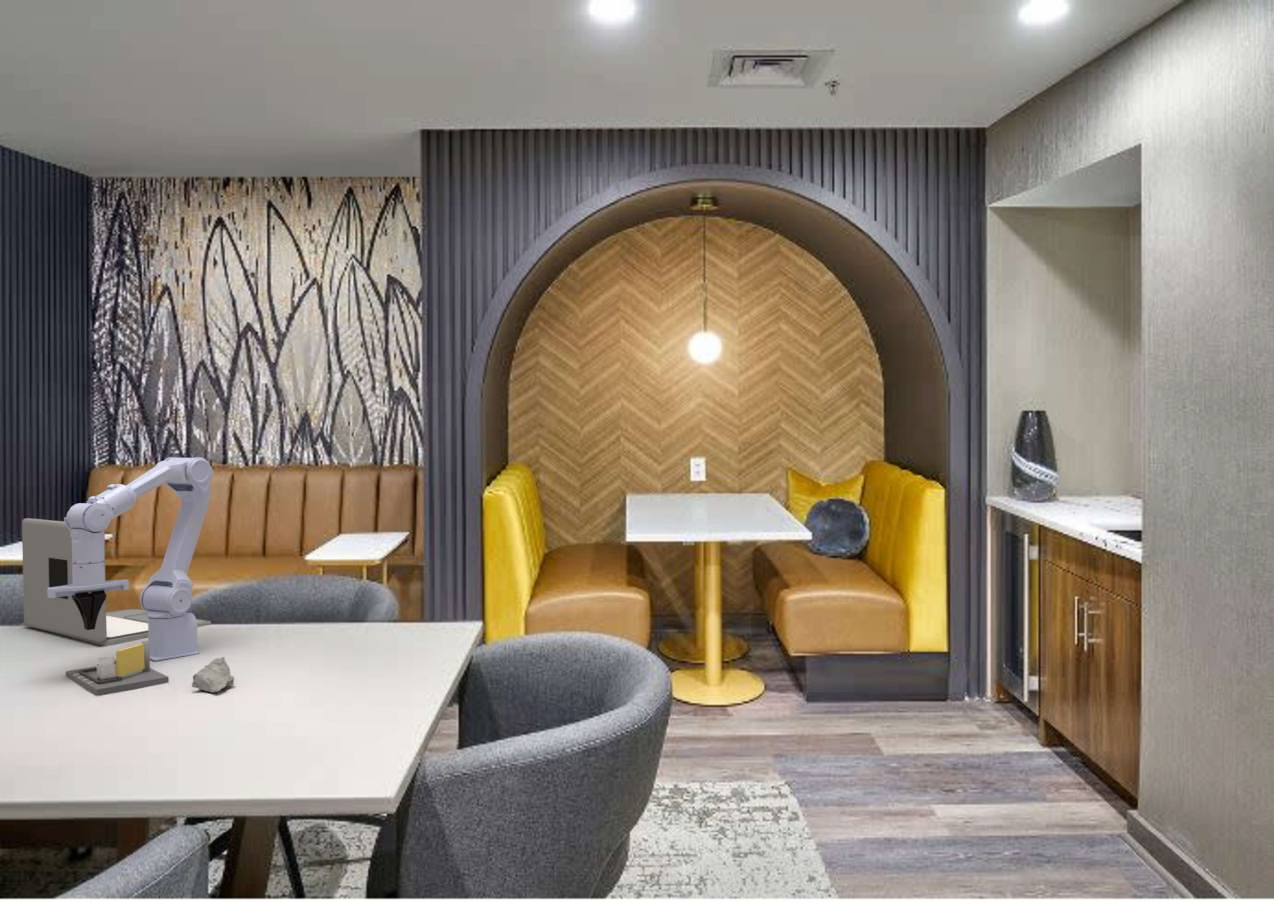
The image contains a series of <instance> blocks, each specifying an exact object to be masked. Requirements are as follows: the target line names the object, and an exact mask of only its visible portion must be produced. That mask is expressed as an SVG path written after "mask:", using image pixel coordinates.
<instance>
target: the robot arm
mask: <svg viewBox="0 0 1274 902" xmlns="http://www.w3.org/2000/svg"><path fill="white" fill-rule="evenodd" d="M214 475H215V472H214V470H213V469H212V467H211V465H210V463H209V461H208V460H207V459H206V458H204V457H200V456H198V457H176V456H169V457H167V458H165V459H164V460H161V461H158V462H157V463H156V465H155V466H154V467H152V468H151V469H149V470H148V471H146V472H144V473H143V474H142V475H140V476H138V477H137V478H135V479H134V480H133V481H131V482H129V483H128V484H126V485H125V484H121V483H117V484H116V483H115V484H114V483H111V484H109V485H107V489H106V490H104V491H102V492H101V493H100V494H97V495H92V496H90V497H88V500H87V501H86V503H85V502H83V503H81V502H79V503H75V504H74V505H72V506H71V507H70V508H69V510H68V511H67V513H66V517H64V518H63V522H65V525H66V526H67V528H68V529H69V530H70V537H72V576H73V584H70V585H63V586H57V587H49V588H47V597H48V598H56V597H62V596H71V595H72V599H73V601H74V602H75V604H76V606H77V607H78V609H79V612H80V614H81V616H82V620H83V623H84V628H85V629H86V630H93V629H95V625H96V621H97V617H98V614H99V611H100V609H101V607H102V605H103V603H104V601H105V599H106V600H107V592H114V591H121V590H122V591H127V590H130V587H129V586H130V583H129V582H130V581H129V579H115V580H106V581H105V578H106V565H105V566H104V530H107V528H108V527H109V526H110V523H111V521H112V520H114V519H116V518H117V517H119V516H121V515H122V514H124V513H125V512H127V511H129V510H131V509H133V507H135V506H136V502H137V501H136V499H138V498H140V497H141V496H144V495H145V494H147V493H149V492H152V491H154V490H156V489H157V488H159V487H161V486H164V485H165V484H166V485H167V486H168V487H169V488H170V489H171V490H172V491H173V492H174V493H175V494H176V496H178V497H179V499H180V501H181V504H180V507H179V510H178V513H177V517H176V520H175V523H174V526H173V529H172V532H171V535H170V538H169V542H168V545H167V547H166V550H165V554H164V557H163V560H162V563H161V567H160V569H159V570H158V571H156V572H155V573H154V574H152V575H151V576H150V577H149V581H148V583H147V584H146V585H145V587H144V588H143V589H142V590H141V592H140V596H139V603H140V607H141V609H144V610H145V611H146V616H148V638H147V639H148V640H147V641H150V661H151V660H152V661H153V662H158V661H163V660H169V659H175V658H181V657H187V656H194V655H198V654H199V653H200V651H198V648H199V647H198V627H197V621H196V619H197V618H196V615H195V614H194V613H192V612H188V611H189V609H190V607H191V605H192V598H193V597H192V591H193V587H194V583H193V582H192V580H191V579H190V577H189V576H188V572H189V569H190V566H191V563H192V559H193V556H194V554H195V553H194V552H195V549H196V546H197V543H198V540H199V536H200V534H201V530H202V528H203V524H204V521H205V518H206V514H207V511H208V508H209V505H210V502H211V484H212V481H213V478H214ZM93 589H99V590H93ZM80 590H90V591H81V592H80ZM105 592H106V593H105Z"/></svg>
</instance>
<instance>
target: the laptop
mask: <svg viewBox="0 0 1274 902" xmlns="http://www.w3.org/2000/svg"><path fill="white" fill-rule="evenodd" d="M105 530H106V529H105ZM105 530H104V566H105V567H106V537H105V535H106V534H105V533H106V532H105ZM21 537H22V538H21V539H22V540H21V541H22V542H21V543H22V544H21V545H22V548H21V549H22V580H23V581H22V582H23V583H22V585H23V588H22V589H23V590H22V591H23V622H24V625H25V626H26V627H30V628H34V629H38V630H41V631H45V632H48V633H53V634H57V635H60V636H65V637H68V638H73V639H76V640H80V641H83V642H88V643H91V644H95V645H100V646H103V647H109V646H115V645H120V644H125V643H128V642H134V641H138V640H144V639H148V616H146V611H145V610H144V609H143V608H137V607H133V608H131V609H129V608H127V609H119V610H113V611H107V598H106V599H105V601H104V603H103V605H102V607H101V609H100V611H99V614H98V617H97V621H96V625H95V629H93V630H86V629H85V628H84V623H83V620H82V616H81V614H80V612H79V609H78V607H77V606H76V604H75V602H74V601H73V599H72V595H71V596H62V597H56V598H48V597H47V588H49V587H57V586H63V585H70V584H73V576H72V537H70V530H69V529H68V528H67V526H66V525H65V522H64V520H63V521H62V520H49V519H40V518H30V517H28V518H24V519H22V521H21ZM105 581H107V579H106V577H105ZM93 590H99V589H93ZM81 591H90V590H80V592H81ZM105 593H106V594H107V591H106V592H105ZM196 621H197V628H200V627H204V626H209V625H212V622H211V621H210V620H204V619H201V618H200V619H199V618H196Z"/></svg>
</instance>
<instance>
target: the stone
mask: <svg viewBox="0 0 1274 902" xmlns="http://www.w3.org/2000/svg"><path fill="white" fill-rule="evenodd" d="M230 669H231V668H230V665H228V662H227V661H226V660H225V656H223V657H220V658H218V657H217V658H214V659H212V660H211V662H209V663H208V664H207V665H205V666H204V667H203V668H201V670H199V671H198V672H196V673H195V674H193V676H192V682H191V687H192V688H195V689H199V690H203V691H205V692H210V693H216V692H217V693H218V692H220V691H221V690H222V689H224V688H226V687H227V686H234V685H235V684H234V682H235V677H234V675H232V674H231V670H230Z"/></svg>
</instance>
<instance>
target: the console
mask: <svg viewBox="0 0 1274 902" xmlns="http://www.w3.org/2000/svg"><path fill="white" fill-rule="evenodd" d="M141 644H144V662H145V669H142V670H139V671H136V672H132V673H129V674H126V675H123V676H120V677H119V676H117V673H116V679H111V680H105V681H99V680H97V665H96V666H91V667H84V668H77V669H72V670H66V671H65V678H68V679H70V680H71V681H73V682H74V683H75V684H78V686H80V687H82V688H83V689H85V690H87V691H89V692H90V693H92V694H93V695H95V696H97V697H98V696H104V695H108V694H115V693H119V692H124V691H132V690H137V689H142V688H147V687H153V686H158V685H162V684H169V681H170V679H169V676H168V675H165V674H164V673H162V672H159V671H157V670H155V669H153V668H152V667H151V659H150V641H148V640H145V641H141Z"/></svg>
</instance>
